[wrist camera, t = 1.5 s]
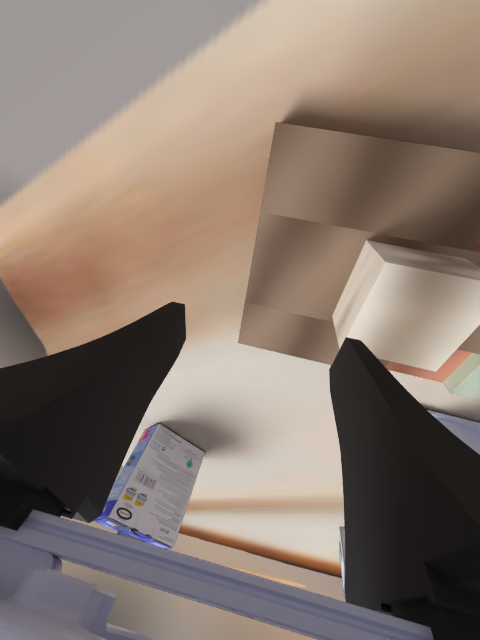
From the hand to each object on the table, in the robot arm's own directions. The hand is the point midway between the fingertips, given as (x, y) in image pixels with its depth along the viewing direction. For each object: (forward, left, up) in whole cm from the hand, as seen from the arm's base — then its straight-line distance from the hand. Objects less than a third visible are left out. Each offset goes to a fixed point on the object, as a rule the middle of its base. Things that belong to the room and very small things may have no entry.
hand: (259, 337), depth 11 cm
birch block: (-8, 0, -8) cm, 12 cm away
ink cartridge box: (+10, +34, -10) cm, 37 cm away
